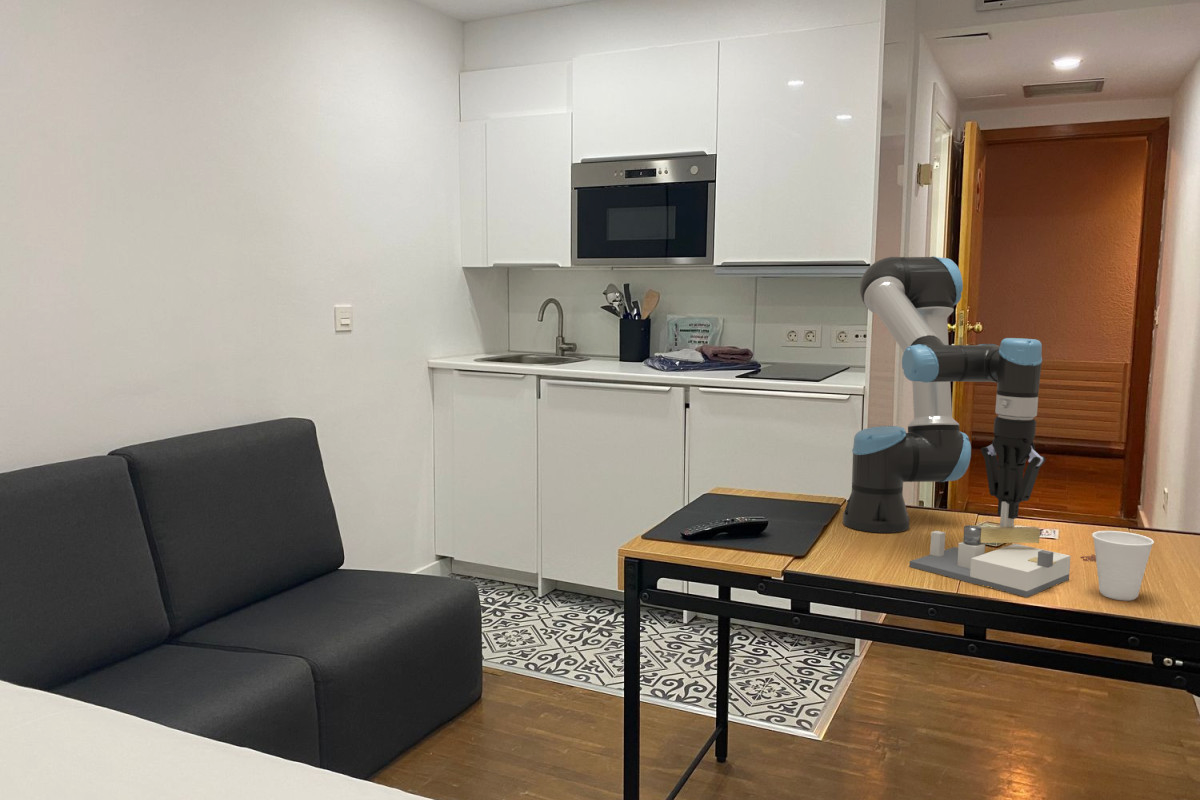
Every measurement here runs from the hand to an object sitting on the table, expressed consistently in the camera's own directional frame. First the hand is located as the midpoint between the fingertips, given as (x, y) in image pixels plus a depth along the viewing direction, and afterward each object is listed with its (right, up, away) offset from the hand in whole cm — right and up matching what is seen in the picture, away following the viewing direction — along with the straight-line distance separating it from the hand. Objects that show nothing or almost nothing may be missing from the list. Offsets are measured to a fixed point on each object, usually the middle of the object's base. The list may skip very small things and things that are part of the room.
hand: (1006, 533), depth 184 cm
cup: (+14, -10, -15) cm, 23 cm away
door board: (-5, -8, -2) cm, 9 cm away
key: (+21, -8, +3) cm, 22 cm away
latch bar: (-2, -2, -2) cm, 3 cm away
